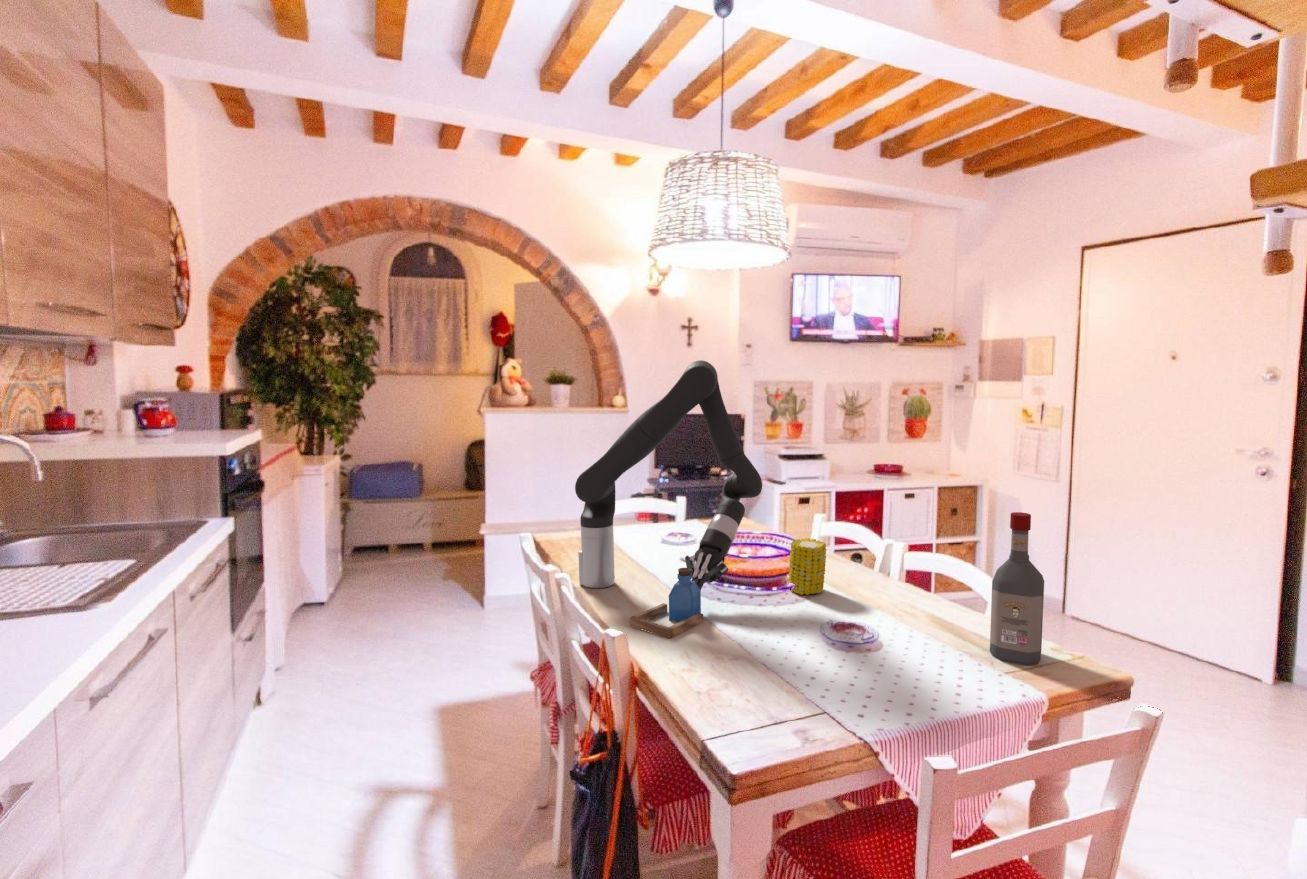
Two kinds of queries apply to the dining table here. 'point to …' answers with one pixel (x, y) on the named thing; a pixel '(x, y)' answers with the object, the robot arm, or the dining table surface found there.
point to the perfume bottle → (684, 597)
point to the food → (807, 566)
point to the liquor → (1017, 601)
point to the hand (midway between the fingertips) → (692, 593)
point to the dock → (668, 632)
